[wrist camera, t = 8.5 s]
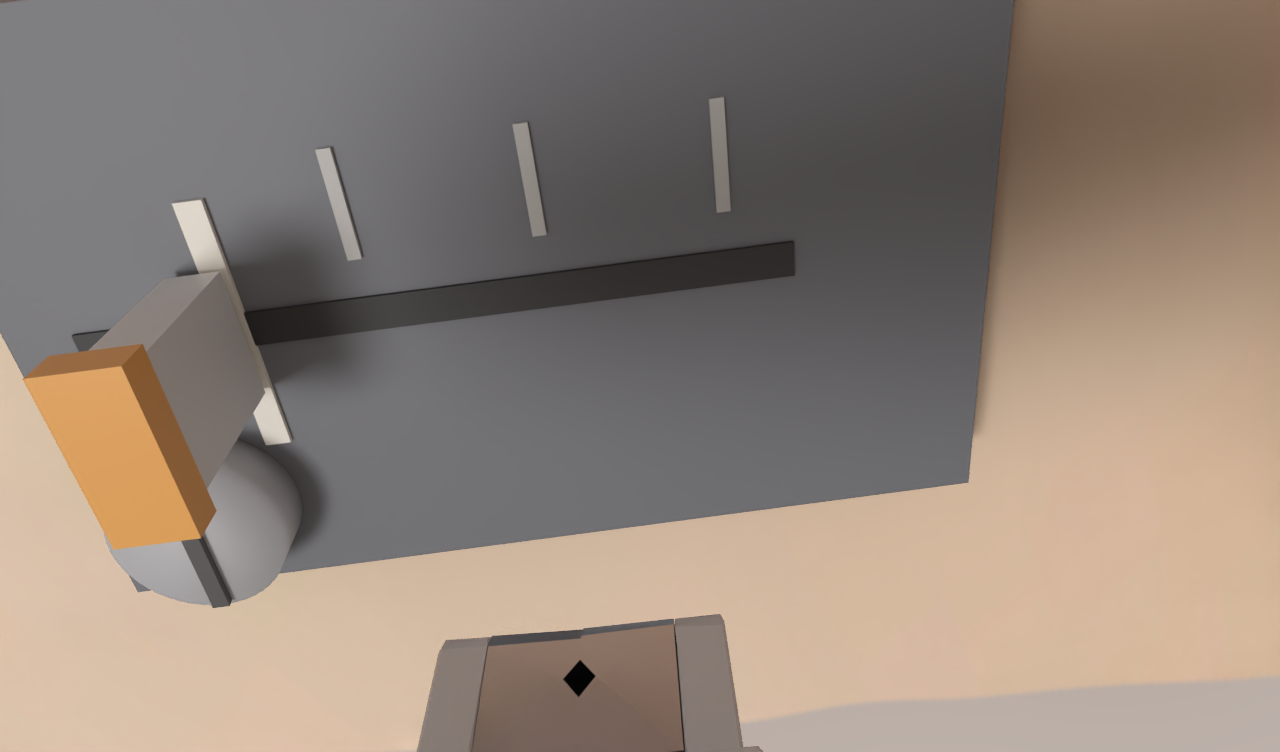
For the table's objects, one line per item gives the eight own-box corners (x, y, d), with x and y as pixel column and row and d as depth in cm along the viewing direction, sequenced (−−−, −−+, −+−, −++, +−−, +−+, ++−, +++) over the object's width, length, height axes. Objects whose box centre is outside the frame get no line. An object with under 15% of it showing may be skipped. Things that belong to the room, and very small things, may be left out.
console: (981, -126, 18) (1072, -129, 15) (940, 440, 25) (995, 523, 21) (-92, 11, 18) (-239, 37, 14) (168, 542, 24) (107, 640, 21)
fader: (224, 256, 18) (121, 366, 14) (278, 402, 20) (200, 538, 16) (148, 266, 18) (22, 379, 14) (208, 411, 20) (113, 549, 16)
